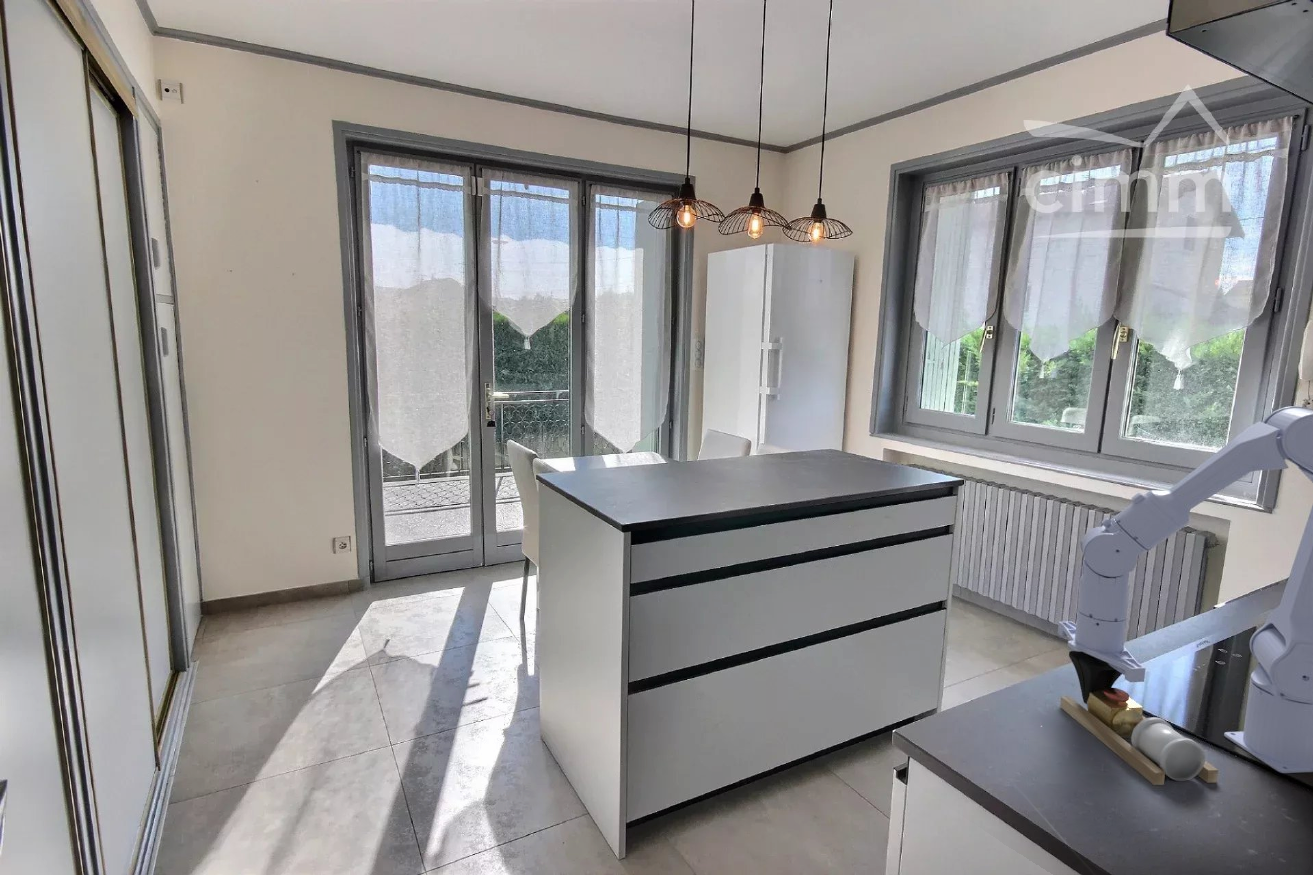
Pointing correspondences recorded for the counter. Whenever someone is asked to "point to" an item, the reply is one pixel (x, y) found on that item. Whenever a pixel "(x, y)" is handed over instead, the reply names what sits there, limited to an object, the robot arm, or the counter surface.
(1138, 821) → the counter surface
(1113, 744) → the guide rails
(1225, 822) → the counter surface
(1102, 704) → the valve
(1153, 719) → the coupling
